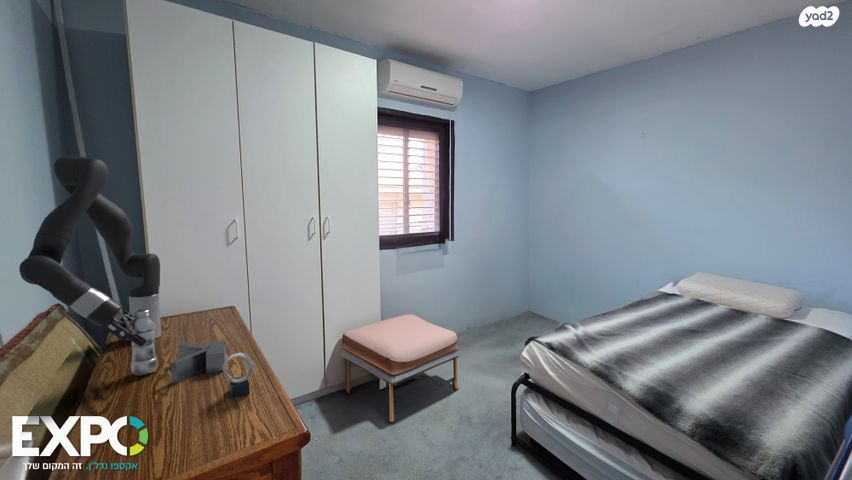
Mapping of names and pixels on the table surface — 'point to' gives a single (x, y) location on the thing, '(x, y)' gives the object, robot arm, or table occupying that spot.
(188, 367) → the v block
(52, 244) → the robot arm
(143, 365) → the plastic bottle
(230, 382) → the watch
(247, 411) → the table surface
